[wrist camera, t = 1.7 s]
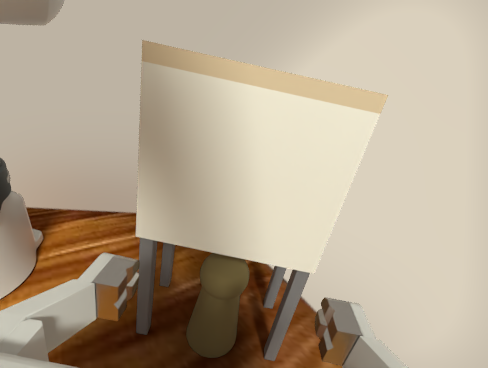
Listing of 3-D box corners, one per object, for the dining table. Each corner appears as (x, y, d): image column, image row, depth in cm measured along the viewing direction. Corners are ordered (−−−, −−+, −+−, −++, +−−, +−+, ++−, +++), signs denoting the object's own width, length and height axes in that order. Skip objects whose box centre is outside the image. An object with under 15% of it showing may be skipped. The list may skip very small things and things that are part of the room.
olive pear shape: (191, 307, 32) (202, 238, 28) (236, 312, 33) (254, 246, 29) (181, 355, 27) (193, 279, 23) (236, 360, 27) (258, 288, 23)
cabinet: (274, 369, 27) (388, 95, 16) (132, 340, 27) (142, 40, 16) (271, 296, 37) (342, 89, 25) (164, 274, 36) (186, 54, 25)
